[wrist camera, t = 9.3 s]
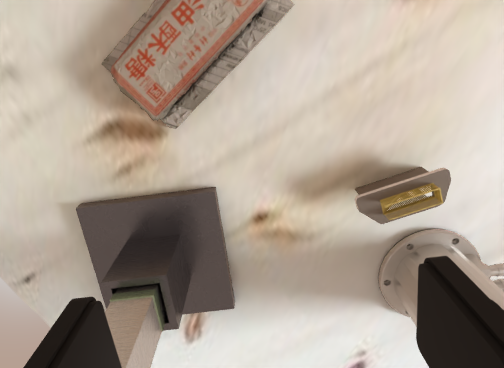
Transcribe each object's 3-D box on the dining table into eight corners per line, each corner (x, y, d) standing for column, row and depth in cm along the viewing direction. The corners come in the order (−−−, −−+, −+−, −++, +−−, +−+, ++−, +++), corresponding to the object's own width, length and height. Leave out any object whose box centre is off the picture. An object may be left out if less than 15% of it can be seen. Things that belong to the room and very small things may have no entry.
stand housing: (215, 187, 44) (207, 224, 35) (234, 301, 49) (232, 360, 40) (81, 203, 44) (36, 244, 35) (114, 314, 50) (83, 376, 40)
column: (163, 269, 39) (111, 407, 24) (171, 302, 41) (126, 453, 26) (123, 274, 40) (47, 414, 24) (133, 307, 41) (65, 459, 26)
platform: (471, 203, 46) (507, 227, 39) (328, 248, 47) (341, 278, 41) (455, 110, 42) (491, 120, 36) (300, 163, 44) (309, 181, 37)
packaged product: (166, 139, 38) (85, 65, 35) (175, 130, 42) (104, 63, 40) (300, 0, 34) (219, -95, 31) (294, 6, 38) (223, -76, 36)
